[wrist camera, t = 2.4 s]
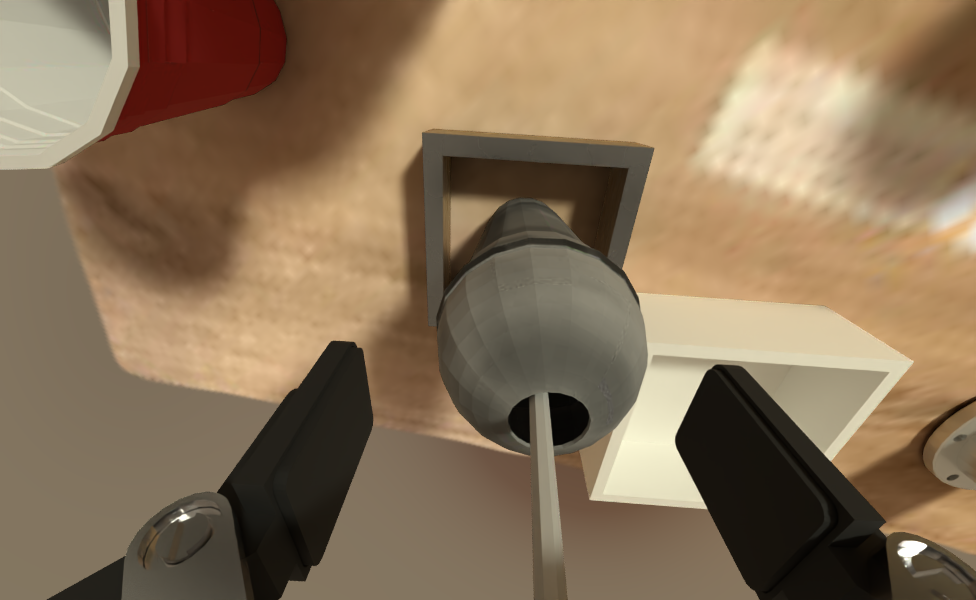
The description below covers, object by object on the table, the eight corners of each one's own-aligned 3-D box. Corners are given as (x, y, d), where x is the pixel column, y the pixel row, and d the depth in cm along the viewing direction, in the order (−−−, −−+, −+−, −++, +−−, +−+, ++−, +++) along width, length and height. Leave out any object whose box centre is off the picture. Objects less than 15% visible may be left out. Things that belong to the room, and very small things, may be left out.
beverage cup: (495, 298, 25) (473, 748, 7) (446, 205, 22) (210, 602, 4) (595, 258, 23) (871, 729, 6) (556, 151, 20) (897, 459, 3)
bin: (825, 305, 24) (914, 361, 19) (738, 446, 31) (785, 515, 26) (613, 290, 24) (643, 342, 19) (575, 434, 31) (589, 500, 26)
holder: (634, 142, 20) (654, 148, 17) (593, 314, 25) (603, 338, 23) (433, 128, 20) (422, 132, 17) (436, 303, 25) (428, 325, 23)
